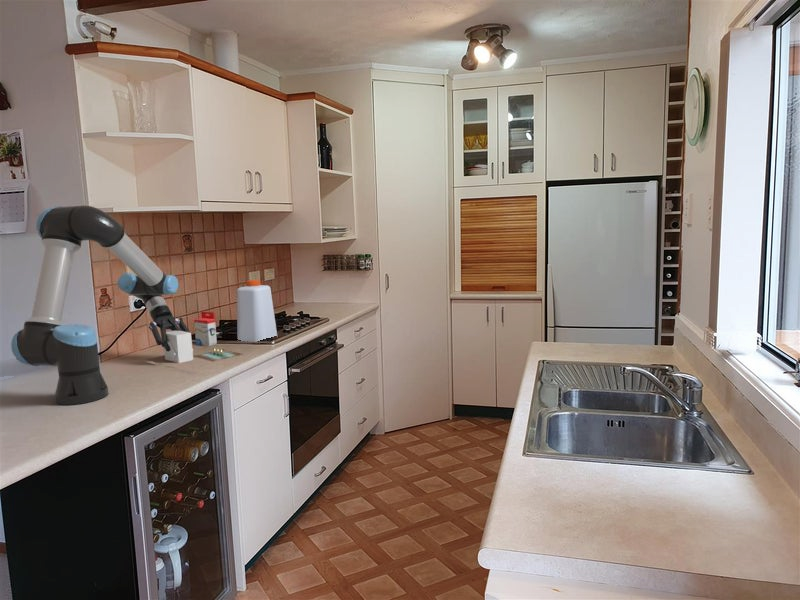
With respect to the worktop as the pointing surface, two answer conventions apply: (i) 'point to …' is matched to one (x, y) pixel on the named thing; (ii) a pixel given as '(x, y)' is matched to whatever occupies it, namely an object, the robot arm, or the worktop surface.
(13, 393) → the worktop surface
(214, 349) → the header pins
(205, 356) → the dock board
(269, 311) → the plastic bottle
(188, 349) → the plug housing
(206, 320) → the ink box
